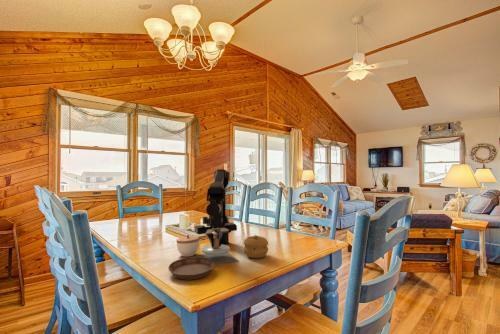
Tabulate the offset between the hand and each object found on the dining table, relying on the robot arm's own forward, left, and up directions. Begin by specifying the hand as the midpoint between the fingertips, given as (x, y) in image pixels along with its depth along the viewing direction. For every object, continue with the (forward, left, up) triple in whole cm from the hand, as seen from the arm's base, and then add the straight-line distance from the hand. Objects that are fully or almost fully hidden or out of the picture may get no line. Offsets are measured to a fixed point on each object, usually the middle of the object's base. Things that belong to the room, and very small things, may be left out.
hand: (216, 247), depth 120 cm
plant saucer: (+14, +12, -5) cm, 19 cm away
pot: (-18, +5, -6) cm, 20 cm away
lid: (0, 0, -1) cm, 1 cm away
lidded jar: (+10, -11, -5) cm, 16 cm away
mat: (0, 0, -5) cm, 5 cm away
